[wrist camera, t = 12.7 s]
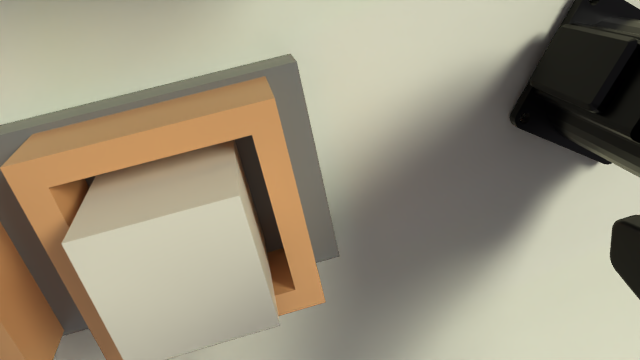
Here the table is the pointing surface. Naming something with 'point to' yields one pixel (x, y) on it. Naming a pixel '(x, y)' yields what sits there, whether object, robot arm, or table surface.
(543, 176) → the table surface
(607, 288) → the table surface
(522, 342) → the table surface
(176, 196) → the orange and grey housing
